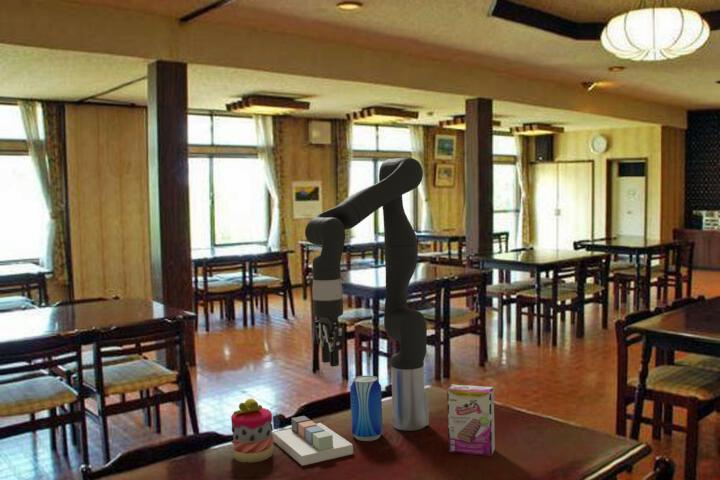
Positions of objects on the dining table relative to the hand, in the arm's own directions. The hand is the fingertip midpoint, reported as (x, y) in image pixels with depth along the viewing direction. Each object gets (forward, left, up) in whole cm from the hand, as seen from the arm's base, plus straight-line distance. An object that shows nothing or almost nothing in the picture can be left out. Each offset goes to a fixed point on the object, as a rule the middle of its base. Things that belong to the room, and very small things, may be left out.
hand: (330, 363), depth 172 cm
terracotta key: (+3, -10, -22) cm, 24 cm away
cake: (+18, -11, -23) cm, 31 cm away
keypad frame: (+3, -7, -23) cm, 25 cm away
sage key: (+3, 0, -22) cm, 22 cm away
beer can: (-13, -6, -23) cm, 28 cm away
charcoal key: (+3, -14, -22) cm, 26 cm away
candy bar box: (-30, +18, -23) cm, 42 cm away
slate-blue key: (+3, -5, -22) cm, 22 cm away
